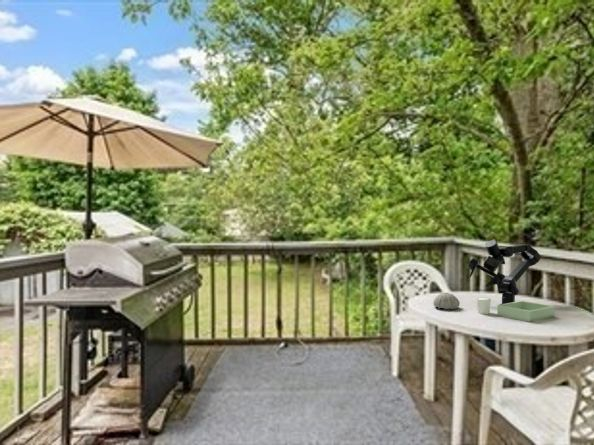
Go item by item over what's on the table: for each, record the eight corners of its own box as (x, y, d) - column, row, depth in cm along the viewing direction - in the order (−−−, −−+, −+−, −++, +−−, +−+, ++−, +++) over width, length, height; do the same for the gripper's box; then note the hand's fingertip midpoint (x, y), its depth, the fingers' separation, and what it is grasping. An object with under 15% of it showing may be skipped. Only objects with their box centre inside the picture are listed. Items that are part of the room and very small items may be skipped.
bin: (521, 310, 291) (521, 300, 290) (554, 316, 275) (554, 306, 275) (497, 315, 281) (497, 305, 281) (530, 322, 266) (530, 311, 265)
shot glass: (474, 311, 291) (474, 297, 290) (487, 311, 291) (487, 297, 291) (479, 314, 284) (479, 300, 283) (493, 314, 284) (493, 299, 284)
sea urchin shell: (431, 305, 307) (430, 291, 307) (456, 305, 307) (456, 290, 306) (436, 311, 294) (436, 295, 294) (462, 310, 294) (462, 295, 293)
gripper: (480, 243, 294) (463, 262, 287) (513, 261, 284) (497, 281, 277) (477, 257, 302) (460, 275, 295) (509, 275, 293) (493, 295, 285)
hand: (477, 281), depth 288 cm, fingers open, 9 cm apart
